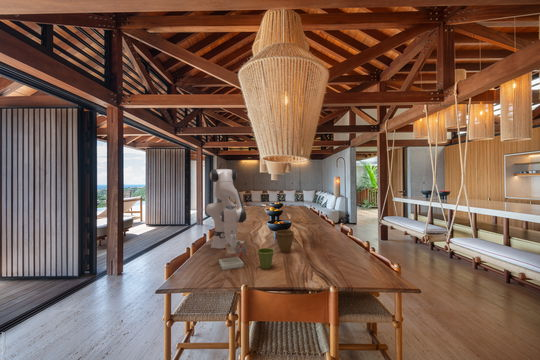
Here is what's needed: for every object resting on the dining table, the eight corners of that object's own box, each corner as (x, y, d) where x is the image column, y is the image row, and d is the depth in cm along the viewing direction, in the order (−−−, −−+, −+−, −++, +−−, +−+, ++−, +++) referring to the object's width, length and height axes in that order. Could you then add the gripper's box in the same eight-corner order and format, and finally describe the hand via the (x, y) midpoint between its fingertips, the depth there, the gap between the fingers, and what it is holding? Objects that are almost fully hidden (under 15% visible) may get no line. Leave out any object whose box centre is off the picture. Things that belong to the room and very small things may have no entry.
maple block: (226, 252, 166) (226, 245, 166) (233, 251, 168) (233, 244, 168) (228, 254, 162) (228, 246, 162) (235, 253, 164) (235, 246, 164)
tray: (218, 263, 169) (218, 259, 169) (238, 260, 174) (238, 256, 174) (222, 270, 156) (222, 265, 156) (243, 267, 161) (243, 262, 161)
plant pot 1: (258, 271, 154) (257, 253, 154) (256, 264, 166) (256, 248, 166) (276, 269, 156) (275, 252, 156) (273, 263, 168) (273, 247, 168)
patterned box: (238, 251, 196) (238, 236, 196) (245, 252, 194) (245, 237, 194) (225, 260, 176) (225, 243, 176) (232, 261, 174) (232, 244, 174)
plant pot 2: (277, 248, 204) (277, 229, 204) (294, 249, 201) (294, 230, 201) (274, 253, 190) (274, 233, 190) (293, 254, 187) (292, 234, 187)
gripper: (238, 232, 157) (239, 253, 157) (231, 226, 175) (231, 245, 175) (229, 233, 154) (229, 254, 154) (223, 227, 173) (223, 246, 173)
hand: (230, 249), depth 165 cm, fingers closed on maple block, 5 cm apart
